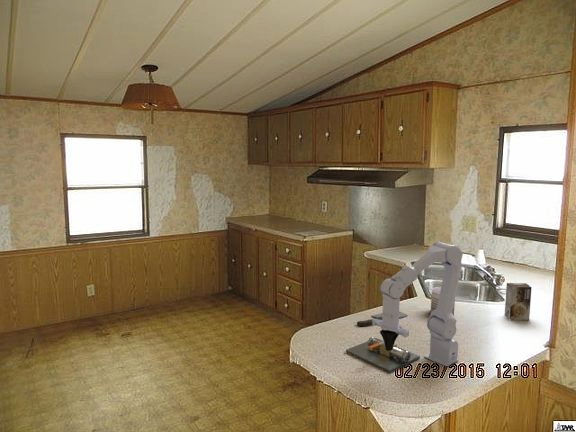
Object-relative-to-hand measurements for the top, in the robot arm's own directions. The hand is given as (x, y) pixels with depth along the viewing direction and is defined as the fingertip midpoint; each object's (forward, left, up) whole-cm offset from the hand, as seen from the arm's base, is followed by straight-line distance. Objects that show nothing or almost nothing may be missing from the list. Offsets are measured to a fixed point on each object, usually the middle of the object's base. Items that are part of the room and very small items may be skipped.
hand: (389, 349), depth 155 cm
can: (+19, -66, -7) cm, 69 cm away
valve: (+8, -7, -7) cm, 13 cm away
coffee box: (-6, -89, -7) cm, 89 cm away
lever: (+6, -3, -1) cm, 7 cm away
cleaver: (+33, -36, -8) cm, 49 cm away
